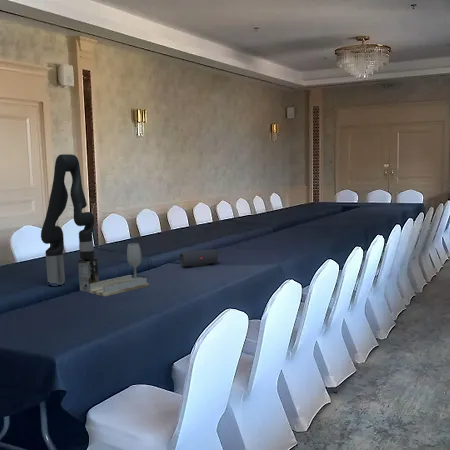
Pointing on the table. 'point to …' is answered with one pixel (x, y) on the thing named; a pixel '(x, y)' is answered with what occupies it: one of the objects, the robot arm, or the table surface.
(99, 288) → the track base
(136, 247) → the wineglass
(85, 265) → the coffee box
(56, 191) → the robot arm
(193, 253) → the bluetooth speaker
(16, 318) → the table surface
